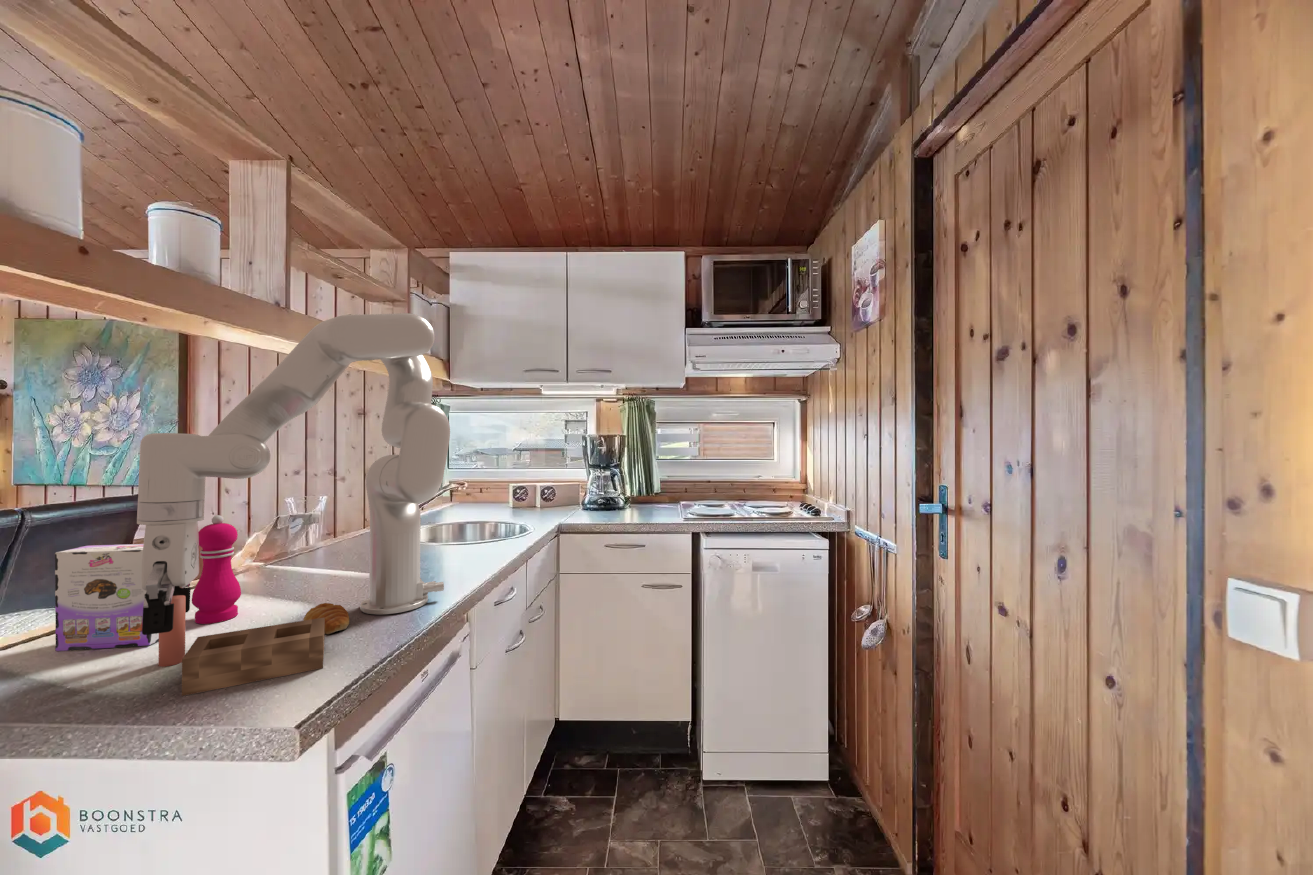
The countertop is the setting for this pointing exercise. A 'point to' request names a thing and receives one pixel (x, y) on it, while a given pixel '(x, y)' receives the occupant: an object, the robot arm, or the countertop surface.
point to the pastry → (330, 616)
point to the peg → (174, 636)
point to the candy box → (100, 598)
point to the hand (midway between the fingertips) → (167, 622)
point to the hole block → (253, 655)
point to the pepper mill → (216, 574)
